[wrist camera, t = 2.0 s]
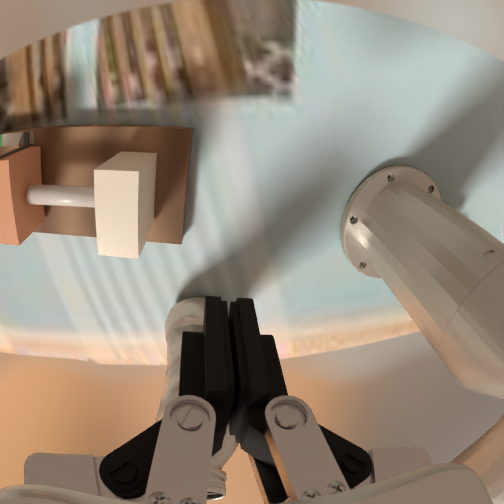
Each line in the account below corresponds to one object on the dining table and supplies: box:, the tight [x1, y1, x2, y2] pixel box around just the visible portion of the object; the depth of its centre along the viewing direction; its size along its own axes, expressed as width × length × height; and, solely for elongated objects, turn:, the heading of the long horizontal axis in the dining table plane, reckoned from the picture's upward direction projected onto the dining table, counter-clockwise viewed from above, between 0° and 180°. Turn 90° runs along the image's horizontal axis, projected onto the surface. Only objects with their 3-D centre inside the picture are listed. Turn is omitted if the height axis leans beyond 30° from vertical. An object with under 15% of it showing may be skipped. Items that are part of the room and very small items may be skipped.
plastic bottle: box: [156, 297, 239, 500], centre depth 23 cm, size 6×7×20 cm
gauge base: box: [0, 125, 193, 244], centre depth 19 cm, size 26×10×8 cm, turn 81°
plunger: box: [26, 151, 157, 259], centre depth 20 cm, size 10×6×6 cm, turn 81°
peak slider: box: [0, 132, 45, 245], centre depth 19 cm, size 3×8×5 cm, turn 171°
